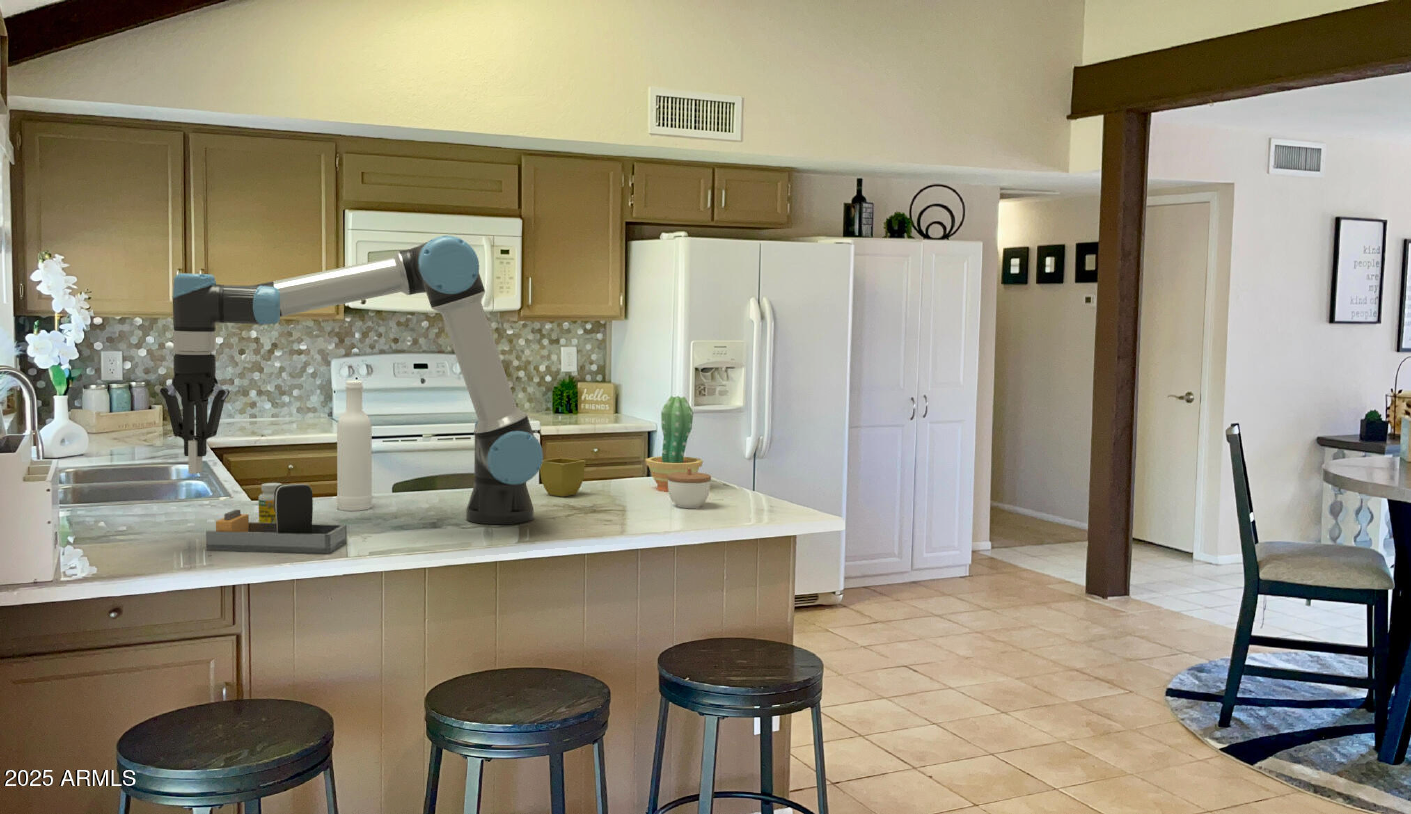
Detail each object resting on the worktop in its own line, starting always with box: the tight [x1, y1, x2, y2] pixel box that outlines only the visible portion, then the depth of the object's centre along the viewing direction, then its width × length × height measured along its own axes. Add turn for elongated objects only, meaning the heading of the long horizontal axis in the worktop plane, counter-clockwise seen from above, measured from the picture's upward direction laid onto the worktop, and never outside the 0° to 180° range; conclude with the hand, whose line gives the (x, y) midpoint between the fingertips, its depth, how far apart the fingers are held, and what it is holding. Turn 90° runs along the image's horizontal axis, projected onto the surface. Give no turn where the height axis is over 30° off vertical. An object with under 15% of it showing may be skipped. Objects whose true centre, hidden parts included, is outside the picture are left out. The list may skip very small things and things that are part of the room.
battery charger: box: [274, 482, 314, 534], centre depth 226 cm, size 7×4×11 cm, turn 124°
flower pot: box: [539, 457, 586, 498], centre depth 293 cm, size 9×9×9 cm
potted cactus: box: [645, 395, 704, 493], centre depth 306 cm, size 15×15×25 cm
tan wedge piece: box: [215, 509, 250, 532], centre depth 226 cm, size 3×8×5 cm, turn 179°
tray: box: [205, 521, 348, 555], centre depth 226 cm, size 24×10×4 cm, turn 89°
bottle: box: [336, 379, 373, 512], centre depth 268 cm, size 8×8×30 cm
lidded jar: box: [667, 468, 712, 509], centre depth 282 cm, size 11×11×9 cm
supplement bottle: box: [258, 482, 283, 523], centre depth 243 cm, size 5×5×10 cm
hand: (195, 472), depth 225 cm, fingers closed
